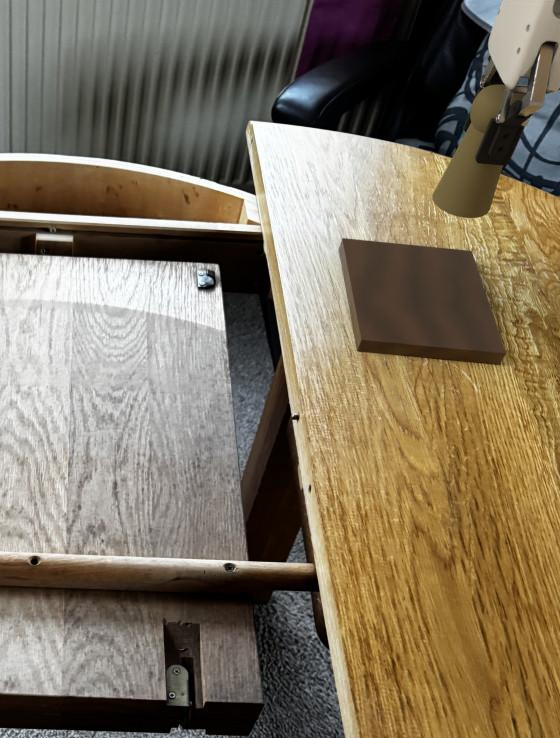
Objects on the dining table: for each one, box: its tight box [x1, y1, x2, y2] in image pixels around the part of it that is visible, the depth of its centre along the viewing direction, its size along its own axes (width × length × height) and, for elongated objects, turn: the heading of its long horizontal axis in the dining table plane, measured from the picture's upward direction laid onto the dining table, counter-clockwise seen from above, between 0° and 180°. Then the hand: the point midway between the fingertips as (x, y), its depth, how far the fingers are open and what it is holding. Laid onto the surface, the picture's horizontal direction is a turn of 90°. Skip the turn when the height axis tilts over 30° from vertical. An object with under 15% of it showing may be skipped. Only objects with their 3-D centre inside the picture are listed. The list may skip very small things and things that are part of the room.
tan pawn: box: [431, 85, 526, 219], centre depth 93 cm, size 6×6×11 cm
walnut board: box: [338, 237, 507, 365], centre depth 108 cm, size 16×20×2 cm
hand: (484, 145), depth 92 cm, fingers closed on tan pawn, 5 cm apart
